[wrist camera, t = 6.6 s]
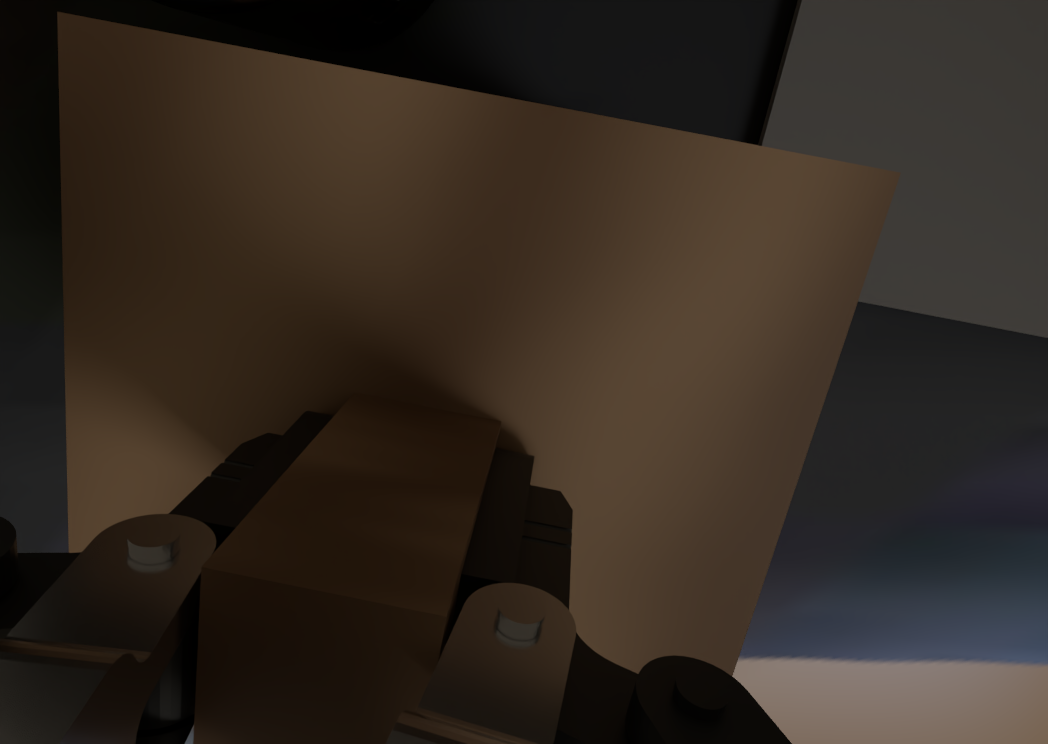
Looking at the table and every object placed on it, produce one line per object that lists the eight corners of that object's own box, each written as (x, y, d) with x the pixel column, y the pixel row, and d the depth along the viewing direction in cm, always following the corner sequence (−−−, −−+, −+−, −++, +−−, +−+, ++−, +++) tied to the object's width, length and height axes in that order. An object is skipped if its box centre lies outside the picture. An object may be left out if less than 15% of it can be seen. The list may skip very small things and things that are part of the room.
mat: (1409, -155, 17) (1432, -163, 17) (1153, 355, 22) (1166, 360, 21) (867, -252, 18) (874, -262, 17) (722, 272, 22) (725, 275, 22)
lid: (878, 170, 11) (1178, 209, 5) (680, 780, 15) (737, 1166, 9) (92, 20, 11) (-388, -92, 6) (97, 660, 15) (-186, 968, 9)
